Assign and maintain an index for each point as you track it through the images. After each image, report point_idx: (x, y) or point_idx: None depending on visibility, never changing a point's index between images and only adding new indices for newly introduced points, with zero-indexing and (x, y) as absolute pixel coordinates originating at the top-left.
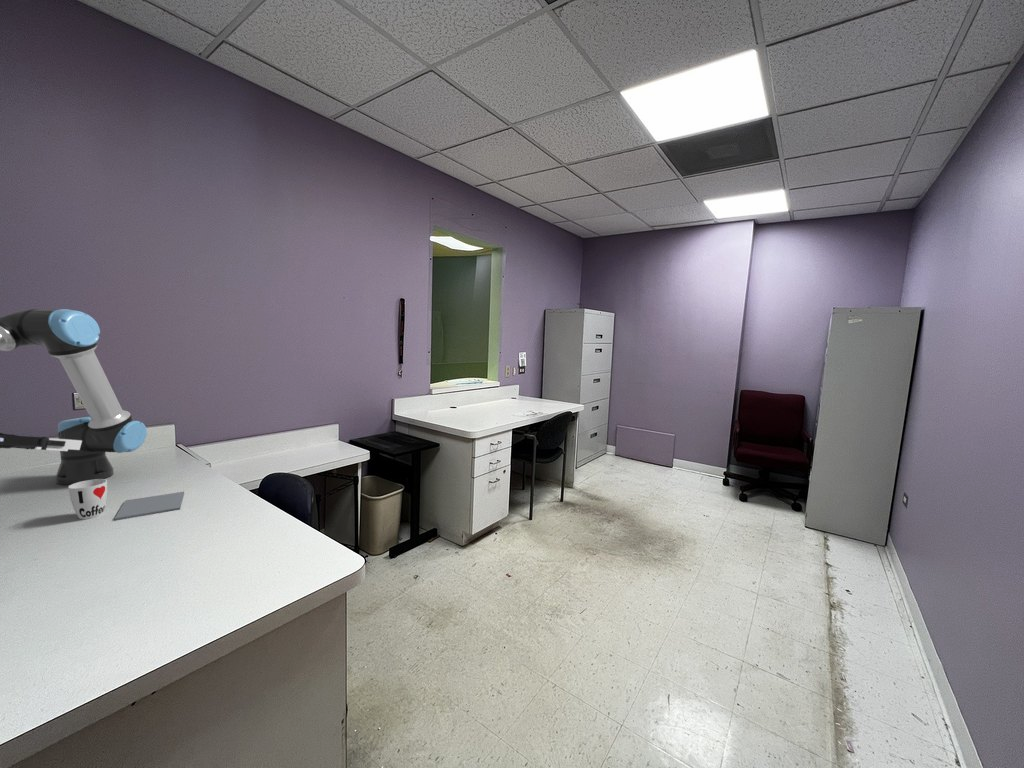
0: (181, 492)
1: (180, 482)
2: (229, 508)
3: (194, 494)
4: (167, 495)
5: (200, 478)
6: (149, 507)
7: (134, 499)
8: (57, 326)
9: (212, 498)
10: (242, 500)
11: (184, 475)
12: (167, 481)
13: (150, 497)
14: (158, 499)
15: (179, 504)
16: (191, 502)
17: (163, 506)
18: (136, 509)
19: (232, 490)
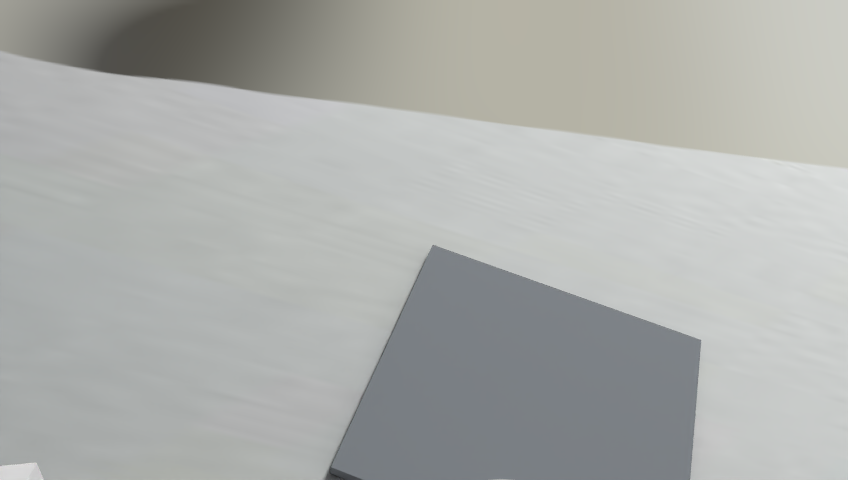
0: (441, 256)
1: (201, 196)
2: (810, 239)
3: (493, 236)
4: (437, 307)
5: (226, 132)
6: (594, 423)
7: (361, 429)
8: None
9: (621, 222)
10: (733, 181)
11: (75, 143)
12: (103, 219)
13: (399, 366)
14: (477, 354)
15: (648, 325)
16: (618, 285)
17: (629, 377)
18: (583, 476)
19: (561, 147)
